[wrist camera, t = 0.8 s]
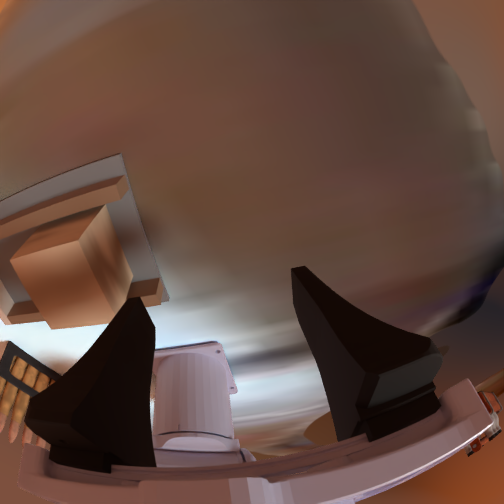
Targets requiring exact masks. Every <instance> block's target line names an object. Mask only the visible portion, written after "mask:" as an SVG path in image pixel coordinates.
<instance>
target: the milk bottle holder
mask: <svg viewBox="0 0 504 504" xmlns="http://www.w3.org/2000/svg"><path fill="white" fill-rule="evenodd" d="M478 395H479V397H480V399H481V400H482V402H483V404H484V406H485V407H486V409H487V411H488V413H489V414H490V416H491V418H492V420H493V425H491V426H490V427H489V428H488V429H487V430H486V431H484V432H483V433H485V435H486V436H485V437H483V438H482V439H481V435H480V436H478V437H477V438H476V439H475V440H473V441H472V442H471V443H470V444H468V445H467V446H466V447H464V448H463V449H465V451H466V454H467V455H468V457H469V456H470V455H472V454H473V453H474V452H477V451H479V450H480V449H481V448H482V446H484V444H485V443H486V442H487V441H491V440H492V439H493V438H495V437H496V436H497V435H498V434H499V433H500V432H501V428H500V427H499V423H498V421H499V419H498V416H497V414H498V413H499V412H500V411H501V410H502V409H503V408H502V406H501V404H500V402H499V401H498V399H497V397H496V396H495V394H494V393H493V392H491V393H487V392H483V391H480V392H479V393H478ZM500 409H501V410H500ZM499 410H500V411H499Z"/></svg>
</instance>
